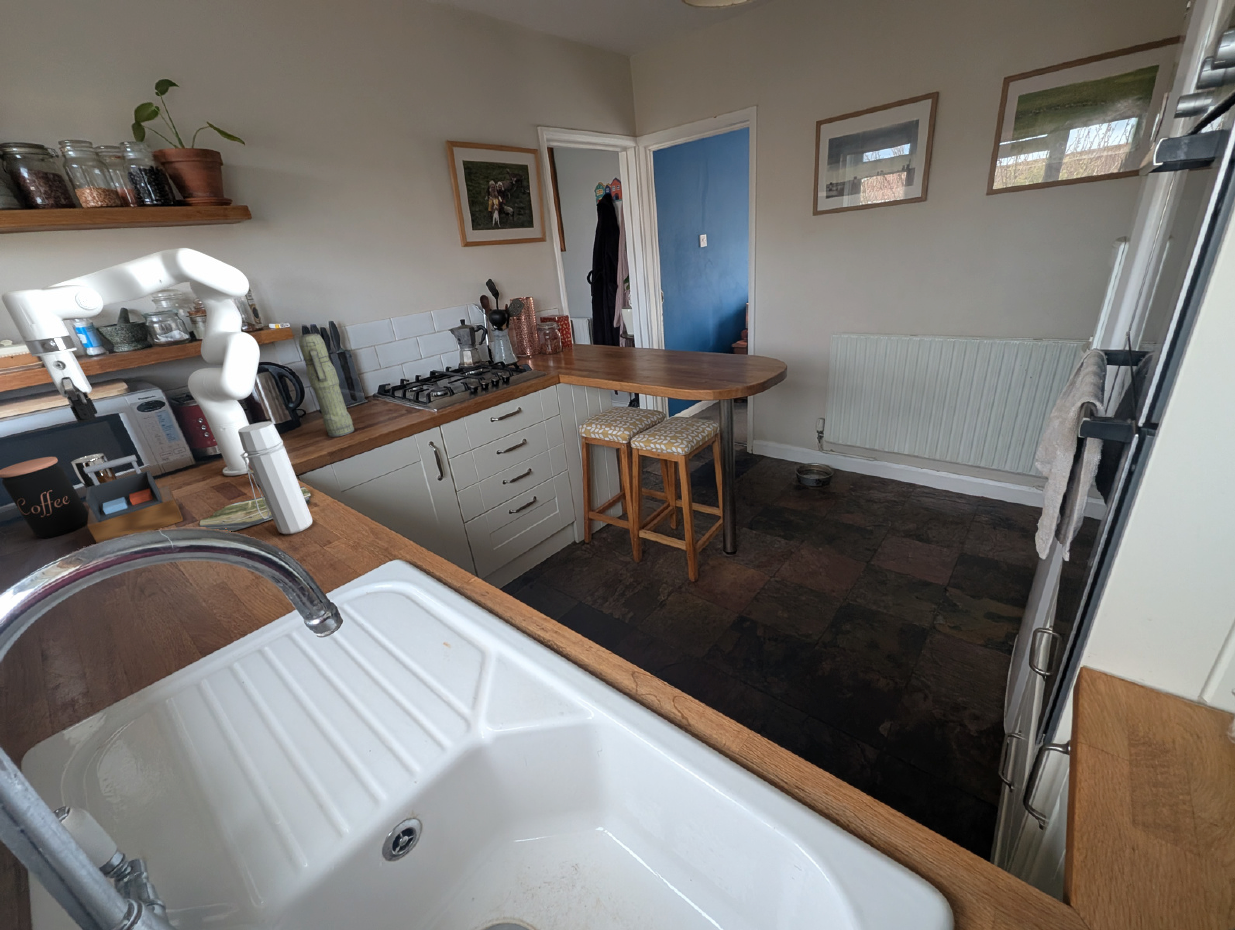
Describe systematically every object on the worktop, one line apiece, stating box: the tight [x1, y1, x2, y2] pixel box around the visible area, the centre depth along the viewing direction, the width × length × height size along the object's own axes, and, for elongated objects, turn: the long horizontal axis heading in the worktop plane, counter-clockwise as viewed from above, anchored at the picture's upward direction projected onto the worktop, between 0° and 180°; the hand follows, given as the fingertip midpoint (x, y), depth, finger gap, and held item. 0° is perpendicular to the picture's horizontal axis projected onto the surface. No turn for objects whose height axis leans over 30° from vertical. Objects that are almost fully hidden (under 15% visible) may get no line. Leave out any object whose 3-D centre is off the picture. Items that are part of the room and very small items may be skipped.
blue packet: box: [103, 497, 127, 514], centre depth 126 cm, size 4×5×2 cm
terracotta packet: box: [129, 489, 153, 505], centre depth 130 cm, size 4×5×2 cm
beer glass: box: [70, 453, 118, 489], centre depth 142 cm, size 7×7×15 cm
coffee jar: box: [0, 456, 89, 539], centre depth 132 cm, size 11×11×18 cm
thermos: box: [298, 332, 355, 438], centre depth 182 cm, size 9×12×35 cm
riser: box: [86, 485, 184, 543], centre depth 131 cm, size 16×14×6 cm
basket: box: [83, 454, 163, 522], centre depth 127 cm, size 12×12×11 cm
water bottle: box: [238, 421, 313, 535], centre depth 116 cm, size 9×8×25 cm
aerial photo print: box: [198, 485, 312, 532], centre depth 131 cm, size 25×19×2 cm
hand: (88, 418), depth 126 cm, fingers open, 9 cm apart
